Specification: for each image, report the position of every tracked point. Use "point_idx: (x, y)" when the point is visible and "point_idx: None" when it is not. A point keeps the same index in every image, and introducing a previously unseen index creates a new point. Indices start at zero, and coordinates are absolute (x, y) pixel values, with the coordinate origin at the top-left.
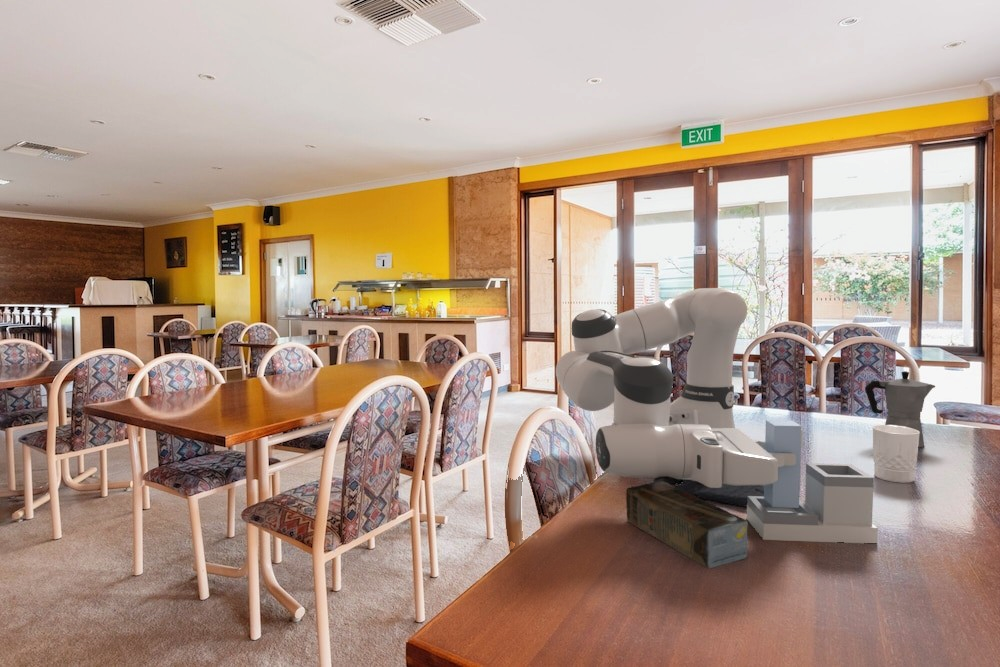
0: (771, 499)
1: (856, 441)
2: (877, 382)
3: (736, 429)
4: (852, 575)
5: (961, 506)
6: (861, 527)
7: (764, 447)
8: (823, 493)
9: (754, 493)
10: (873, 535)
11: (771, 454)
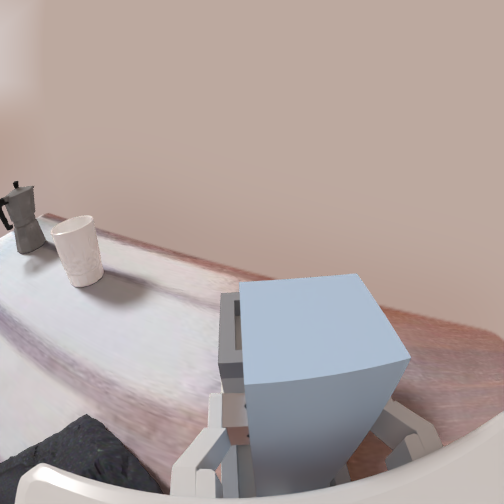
0: (319, 487)
1: (8, 265)
2: (2, 199)
3: (47, 485)
4: (426, 404)
5: (172, 264)
6: None
7: (216, 453)
8: None
9: (139, 484)
10: None
11: (434, 435)
